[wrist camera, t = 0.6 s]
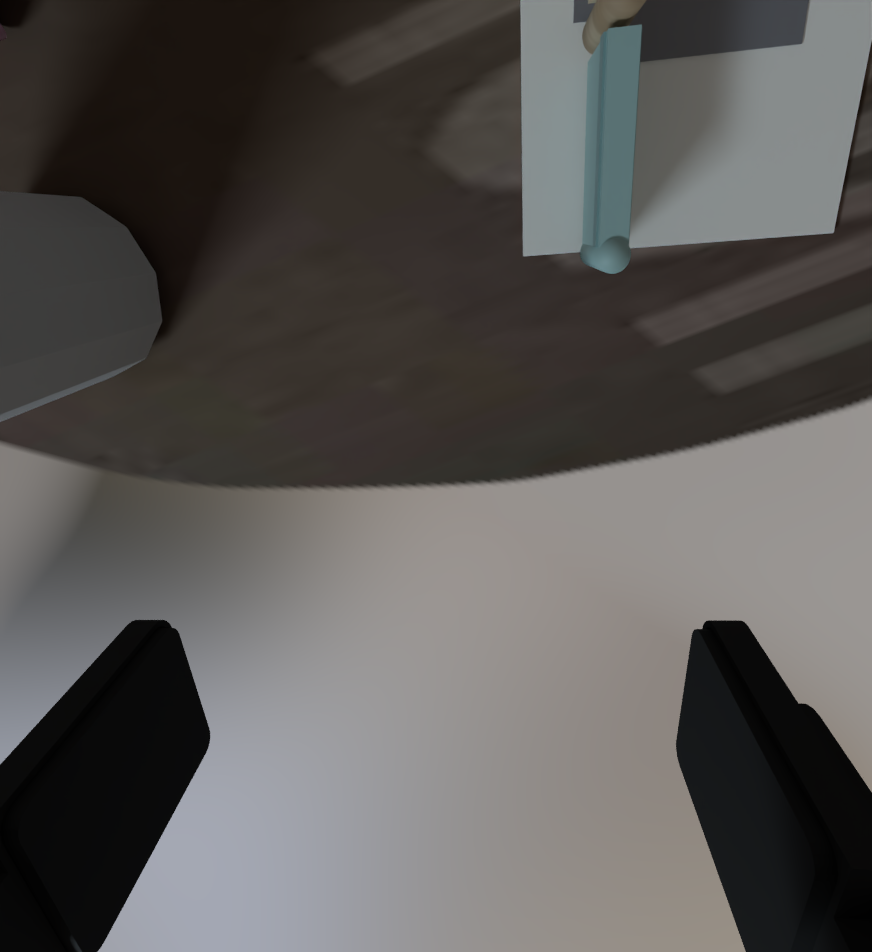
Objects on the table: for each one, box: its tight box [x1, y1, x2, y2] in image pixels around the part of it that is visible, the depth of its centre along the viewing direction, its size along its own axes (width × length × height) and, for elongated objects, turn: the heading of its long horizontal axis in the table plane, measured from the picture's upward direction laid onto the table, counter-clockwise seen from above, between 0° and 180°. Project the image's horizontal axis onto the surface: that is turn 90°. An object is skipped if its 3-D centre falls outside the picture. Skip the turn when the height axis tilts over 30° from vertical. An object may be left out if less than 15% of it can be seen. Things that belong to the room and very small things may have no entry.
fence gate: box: [580, 24, 642, 274], centre depth 24 cm, size 9×1×5 cm, turn 5°
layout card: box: [520, 0, 872, 256], centre depth 25 cm, size 17×15×1 cm
